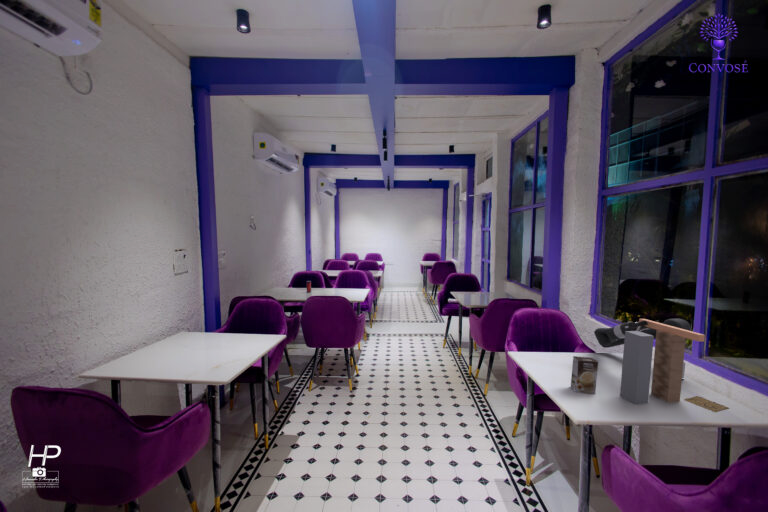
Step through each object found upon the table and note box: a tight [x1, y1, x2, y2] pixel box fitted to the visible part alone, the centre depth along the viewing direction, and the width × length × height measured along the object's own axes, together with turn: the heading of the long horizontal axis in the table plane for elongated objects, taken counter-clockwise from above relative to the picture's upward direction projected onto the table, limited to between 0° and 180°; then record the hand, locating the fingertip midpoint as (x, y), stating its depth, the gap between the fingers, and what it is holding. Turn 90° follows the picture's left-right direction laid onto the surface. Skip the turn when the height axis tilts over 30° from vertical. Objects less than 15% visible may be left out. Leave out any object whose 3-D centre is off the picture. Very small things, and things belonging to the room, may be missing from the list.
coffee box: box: [570, 355, 599, 394], centre depth 163 cm, size 9×6×16 cm
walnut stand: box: [650, 330, 687, 403], centre depth 158 cm, size 8×7×32 cm
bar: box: [638, 318, 706, 343], centre depth 158 cm, size 28×3×3 cm, turn 10°
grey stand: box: [619, 331, 655, 405], centre depth 155 cm, size 8×7×32 cm
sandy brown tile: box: [683, 395, 730, 413], centre depth 154 cm, size 12×12×1 cm
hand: (652, 322), depth 166 cm, fingers open, 6 cm apart
